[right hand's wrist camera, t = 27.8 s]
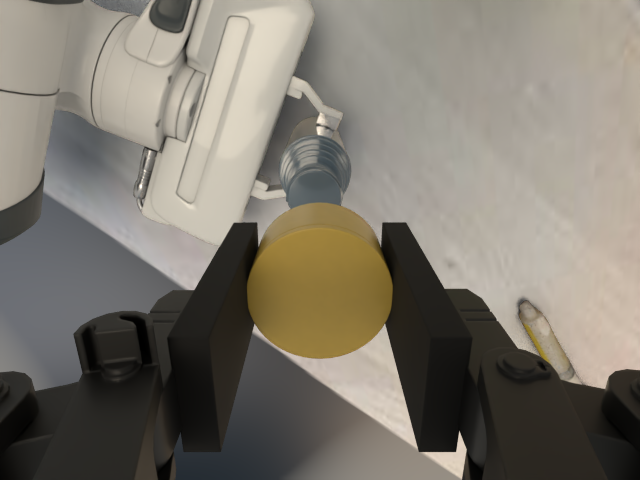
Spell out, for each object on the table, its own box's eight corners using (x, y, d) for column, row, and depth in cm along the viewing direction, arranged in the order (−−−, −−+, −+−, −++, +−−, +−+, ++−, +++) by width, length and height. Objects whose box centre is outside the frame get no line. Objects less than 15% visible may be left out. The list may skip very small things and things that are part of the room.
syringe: (508, 304, 48) (519, 317, 45) (540, 288, 47) (553, 300, 44) (584, 451, 55) (596, 469, 53) (612, 439, 55) (627, 457, 52)
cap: (271, 188, 13) (261, 212, 11) (397, 218, 14) (412, 246, 12) (247, 302, 15) (234, 343, 13) (362, 326, 15) (370, 371, 13)
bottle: (340, 115, 41) (360, 149, 22) (340, 166, 42) (360, 239, 24) (289, 117, 41) (265, 152, 22) (291, 168, 42) (271, 241, 24)
